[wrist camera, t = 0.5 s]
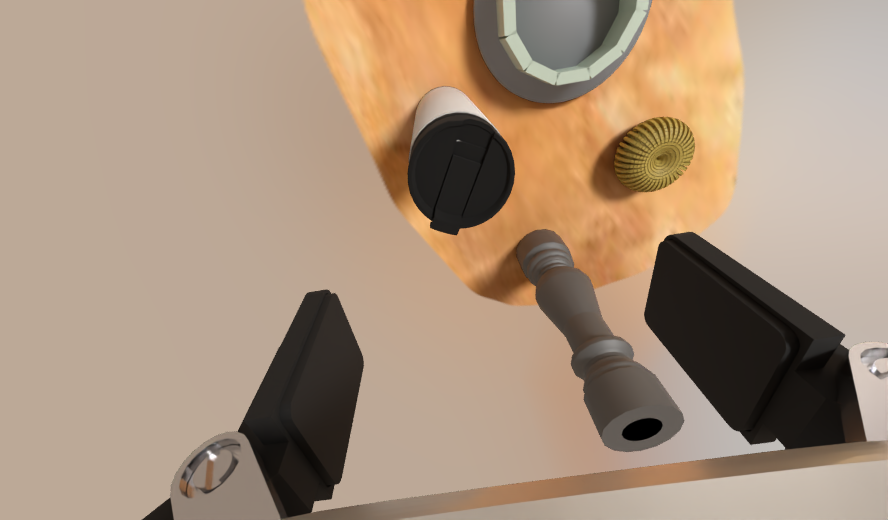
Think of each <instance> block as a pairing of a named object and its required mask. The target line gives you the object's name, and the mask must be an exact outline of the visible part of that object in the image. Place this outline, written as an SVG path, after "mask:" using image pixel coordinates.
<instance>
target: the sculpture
mask: <svg viewBox="0 0 888 520" xmlns="http://www.w3.org/2000/svg"><path fill="white" fill-rule="evenodd" d="M672 126H673V127H672ZM668 132H669V133H668ZM627 136H628V137H626V136H625V137H624V138H623V140H624V141H625V142H627V143H628V144H630V145H628V144H625V143H623V142H620V144H619V145H620V146H622V148H620V147H618V149H617V150H616V151H617V153H616V154H615V160H614V164H615V165H614V169H615V173H616V175H617V176H618V179H619V180H620V182H621V183H622V184H623V185H625V186H626V187H627V188H629V189H631V190H633V191H638V192H652V191H656V190H659V189H662V188H665V187H667V186H669V184H672V183H673V182H674V180H677V179H678V178H679V176H678V175H680V176H681V175H682V174H683V172H681V170H685V171H686V169H687V167H685V166H687V165H688V166H689V165H690V163H691V162H690V161H691V160H692V158H693V154H694V148H695V143H694V141H695V140H694V138H693V135H692V132H691V130H690V128H689V127H688V126H686V124H685V123H683V122H682V121H680V120H678V119H674V118H671V117H668V118H667V117H659V118H658V117H657V118H653V119H649V120H646V121H644V122H642V123H640V124H638V126H637V127H634V128H633V129H632V132H631V131H629V132H628V133H627ZM633 137H634V138H635V139H634V138H633ZM635 140H636V141H635ZM623 147H624V148H623ZM625 157H626V158H625ZM631 163H632V164H631ZM682 165H683V166H682ZM684 165H685V166H684ZM678 168H679V169H681V170H679V169H678ZM640 171H641V172H640ZM677 174H678V175H677ZM673 175H674V176H673Z"/></svg>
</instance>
